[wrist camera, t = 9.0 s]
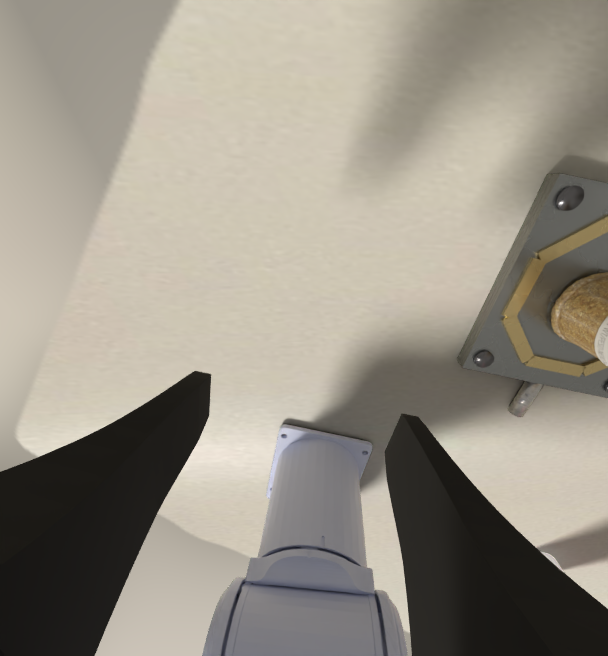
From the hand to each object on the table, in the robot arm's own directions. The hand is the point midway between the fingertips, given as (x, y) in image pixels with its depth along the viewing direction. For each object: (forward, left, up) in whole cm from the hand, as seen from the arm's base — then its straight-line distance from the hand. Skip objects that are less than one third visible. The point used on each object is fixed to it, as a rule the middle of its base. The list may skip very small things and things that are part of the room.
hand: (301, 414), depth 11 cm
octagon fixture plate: (+3, -16, -10) cm, 19 cm away
